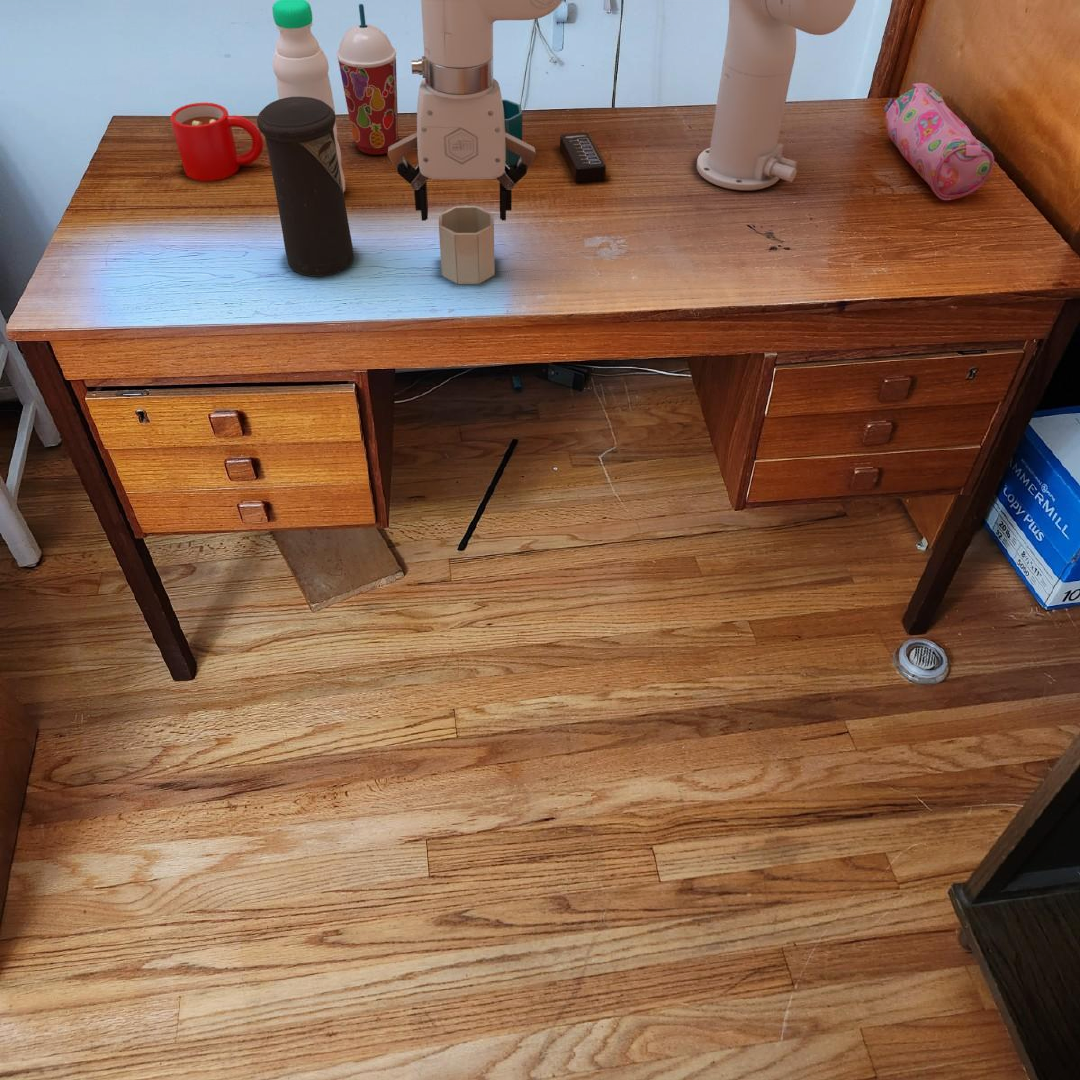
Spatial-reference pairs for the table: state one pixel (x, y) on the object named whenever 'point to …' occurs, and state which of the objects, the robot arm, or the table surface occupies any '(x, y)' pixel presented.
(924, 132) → the pencil case
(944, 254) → the table surface
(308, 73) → the water bottle
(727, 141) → the robot arm
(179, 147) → the mug
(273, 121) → the container
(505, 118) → the cup far
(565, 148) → the multiport hub
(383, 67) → the smoothie
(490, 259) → the cup near
